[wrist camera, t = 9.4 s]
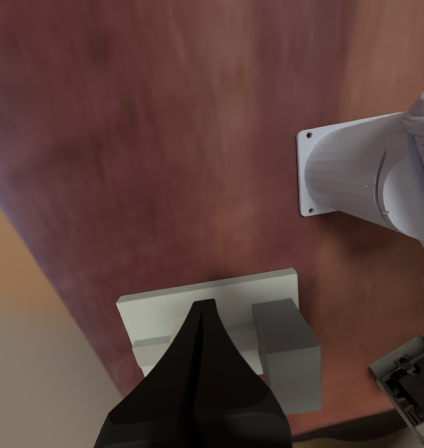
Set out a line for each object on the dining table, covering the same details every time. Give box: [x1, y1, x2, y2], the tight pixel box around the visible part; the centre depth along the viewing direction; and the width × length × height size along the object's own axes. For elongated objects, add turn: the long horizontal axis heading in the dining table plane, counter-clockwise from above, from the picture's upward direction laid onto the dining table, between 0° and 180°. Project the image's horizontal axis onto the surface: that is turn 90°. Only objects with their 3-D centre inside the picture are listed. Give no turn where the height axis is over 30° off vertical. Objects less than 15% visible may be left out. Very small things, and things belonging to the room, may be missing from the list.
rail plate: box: [116, 268, 322, 415], centre depth 21 cm, size 20×14×7 cm
